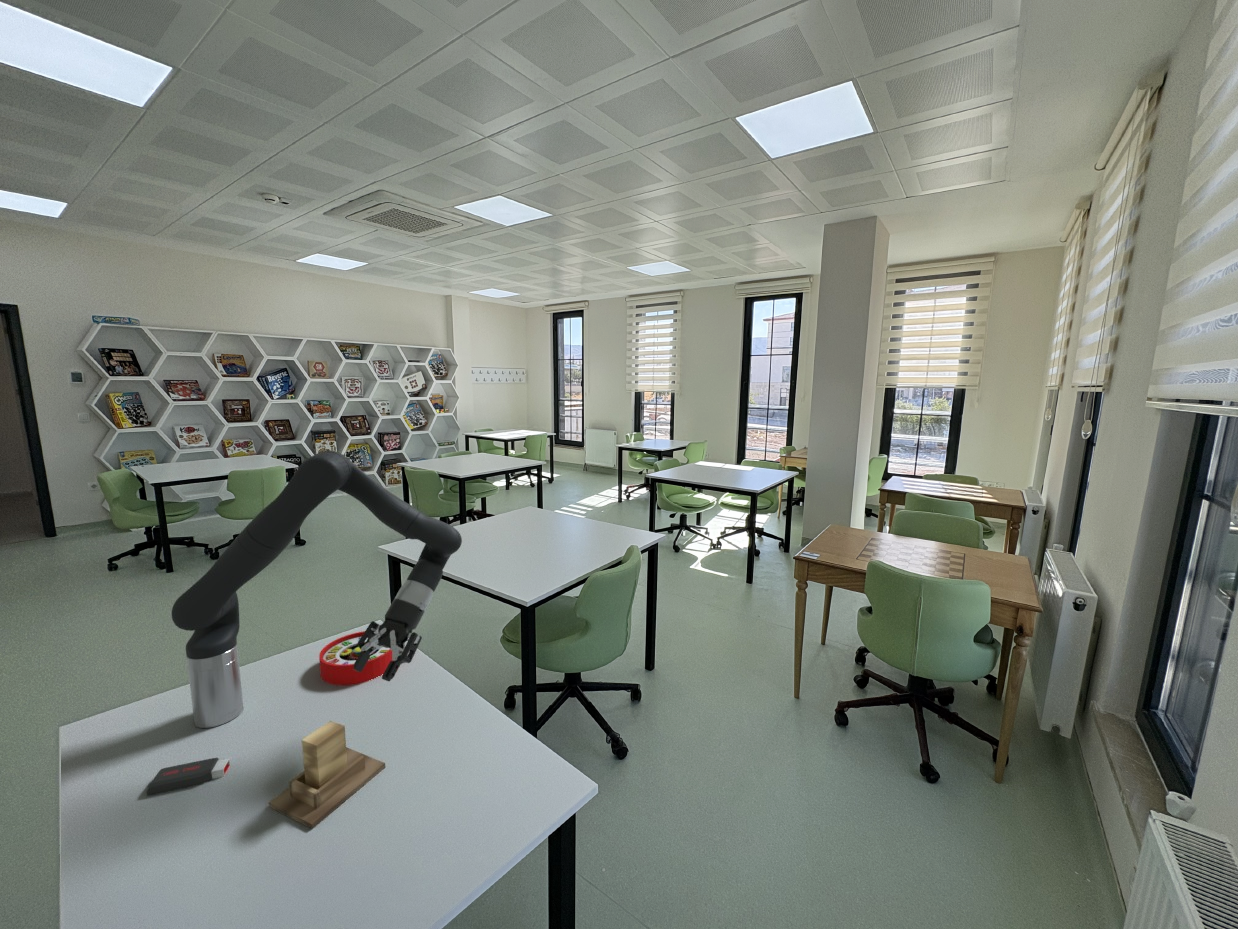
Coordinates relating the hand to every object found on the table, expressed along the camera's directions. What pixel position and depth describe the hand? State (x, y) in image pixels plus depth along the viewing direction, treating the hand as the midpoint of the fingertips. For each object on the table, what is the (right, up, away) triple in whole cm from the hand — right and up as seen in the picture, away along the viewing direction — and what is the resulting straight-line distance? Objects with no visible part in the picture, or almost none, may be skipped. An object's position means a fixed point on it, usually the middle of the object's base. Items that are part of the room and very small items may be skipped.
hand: (370, 675), depth 104 cm
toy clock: (-21, -13, +36) cm, 44 cm away
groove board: (-4, -19, -7) cm, 21 cm away
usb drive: (-34, -19, -6) cm, 39 cm away
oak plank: (-5, -18, -8) cm, 20 cm away
